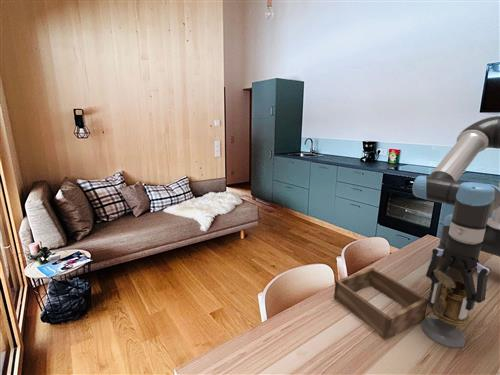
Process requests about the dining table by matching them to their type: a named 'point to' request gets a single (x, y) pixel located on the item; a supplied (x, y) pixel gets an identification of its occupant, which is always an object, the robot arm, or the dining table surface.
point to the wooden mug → (450, 300)
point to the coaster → (443, 333)
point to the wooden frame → (373, 315)
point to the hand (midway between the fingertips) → (448, 308)
